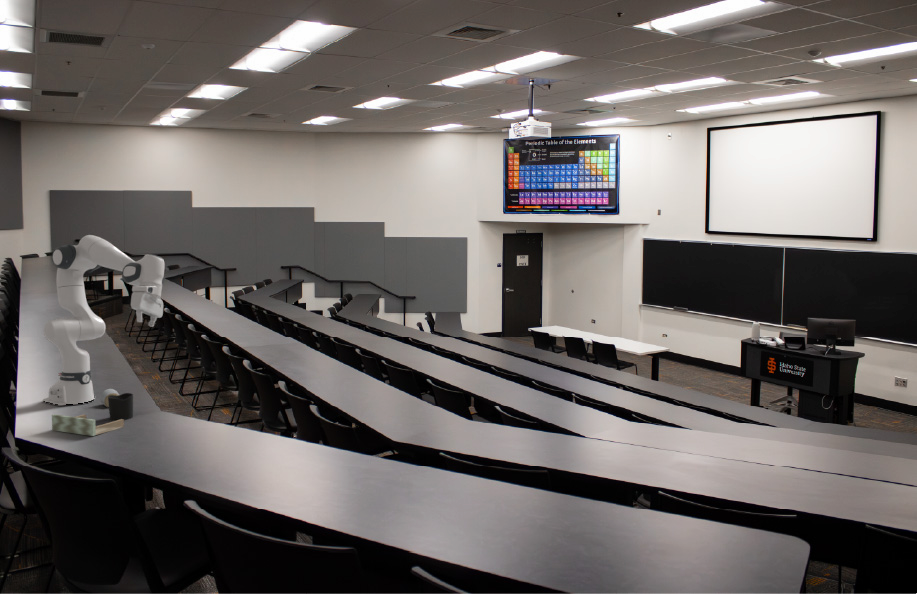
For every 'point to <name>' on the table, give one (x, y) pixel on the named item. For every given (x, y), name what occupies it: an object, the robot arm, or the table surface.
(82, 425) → the corral
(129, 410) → the pen holder
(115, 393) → the ceramic mug
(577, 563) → the table surface
